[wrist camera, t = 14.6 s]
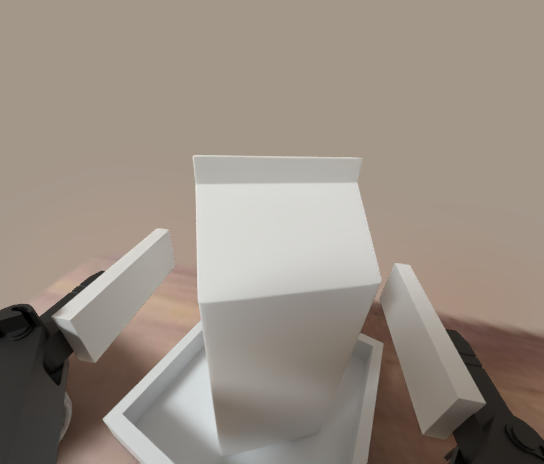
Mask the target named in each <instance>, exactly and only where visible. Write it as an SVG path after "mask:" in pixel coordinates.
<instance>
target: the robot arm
mask: <svg viewBox="0 0 544 464" xmlns="http://www.w3.org/2000/svg"><path fill="white" fill-rule="evenodd" d="M175 266H176V263H175V258H174V253H173V248H172V243H171V237H170V233H169V230H167V229H159V228H157V229H156V230H155V231H153V232H152V233H151V234H150V235H149V236H147V237H146V238H145V239H144V240H143V241H141V242H140V243H139V244H138V245H137V246H135V247H134V248H133V249H132V250H131V251H129V252H128V253H127V254H126V255H125V256H123V257H122V258H121V259H120V260H119V261H117V262H116V263H115V264H114V265H113V266H111V267H110V268H109V269H108V270H107V271H100V272H98V273H96V274H94V275H92V276H90V277H89V278H87V279H86V280H85V281H84V282H82V283H81V284H80V286H77V287H76V288H75V289H74V290H72V292H71V293H69V294H67V295H66V296H65V297H64V298H62V299H61V300H60V301H59V302H57V303H56V304H55V305H54V306H52V307H51V308H50V309H49V310H47V311H46V312H45V313H44V314H42V315H41V316H40V317H39V316H38V315H37V313H36V312H35V310H34V309H33V307H32V306H30V305H29V304H18V305H12V306H10V307H7V308H4V309H2V310H0V464H56V461H57V453H58V445H59V438H60V430H61V422H62V415H63V407H64V399H65V392H66V384H67V376H68V369H69V361H68V359H67V358H68V357H69V356H70V355H71V354H72V353H73V352H74V353H75V355H76V356H77V358H78V359H79V360H82V361H86V362H91V363H96V362H97V360H98V359H99V358H100V357H101V356H102V354H103V353H104V352H105V351H106V350H107V348H108V347H109V346H110V345H111V343H112V342H113V341H114V340H115V339H116V337H117V336H118V335H119V334H120V333H121V331H122V330H123V329H124V328H125V326H126V325H127V324H128V323H129V322H130V320H131V319H132V318H133V317H134V316H135V314H136V313H137V312H138V311H139V310H140V308H141V307H142V306H143V305H144V303H145V302H146V301H147V300H148V299H149V297H150V296H151V295H152V294H153V293H154V291H155V290H156V289H157V288H158V287H159V285H160V284H161V283H162V282H163V280H164V279H165V278H166V277H167V276H168V274H169V273H170V272H171V271H172V270H173V268H174V267H175ZM380 302H381V305H382V308H383V311H384V314H385V318H386V321H387V324H388V327H389V330H390V334H391V337H392V340H393V343H394V346H395V350H396V353H397V356H398V359H399V362H400V365H401V369H402V372H403V375H404V378H405V381H406V385H407V388H408V391H409V394H410V397H411V400H412V404H413V407H414V410H415V413H416V416H417V420H418V423H419V426H420V429H421V432H422V435H425V436H429V437H434V438H438V439H443V440H445V439H446V438H448V437H449V436H450V435H451V434H452V433H453V435H454V437H455V440H456V442H457V444H458V445H457V446H456V447H455V448H453V449H452V450H451V451H450V452H448V453H447V454H446V456H445V457H444V458H445V459H446V460H447V461H448V460H449V459H450V458H451V459H450V462H449V464H544V440H543V439H542V438H541V437H540V436H539V435H538V433H537V432H536V431H535V430H534V429H532V428H531V427H530V426H529V425H528V424H526V423H525V422H524V421H522V420H520V419H519V418H517V417H515V416H513V414H512V413H511V412H510V410H509V409H508V407H507V405H506V404H505V402H504V400H503V399H502V397H501V396H500V394H499V392H498V391H497V389H496V387H495V386H494V384H493V383H492V381H491V379H490V378H489V376H488V374H487V373H486V371H485V370H484V369H483V368H482V365H481V363H480V361H479V360H478V358H476V355H475V353H474V352H473V350H472V348H471V347H470V345H469V344H468V342H467V341H466V340H465V339H464V338H463V337H462V336H461V335H460V334H459V333H458V332H457V331H454V330H449V329H445V328H444V326H443V324H442V323H441V321H440V319H439V317H438V315H437V314H436V312H435V310H434V308H433V307H432V305H431V303H430V301H429V299H428V298H427V296H426V294H425V292H424V290H423V288H422V287H421V285H420V283H419V281H418V279H417V278H416V276H415V274H414V272H413V271H412V268H411V267H410V265H406V264H399V263H395V264H394V266H393V269H392V271H391V273H390V275H389V278H388V280H387V282H386V285H385V287H384V290H383V292H382V294H381V297H380Z"/></svg>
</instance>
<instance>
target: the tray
mask: <svg viewBox="0 0 544 464" xmlns="http://www.w3.org/2000/svg"><path fill="white" fill-rule="evenodd" d="M383 345H384V343H382V342H380V341H377V340H375V339H373V338H371V337H369V336H366V335H364V334H362V333H360V334H359V337H358V339H357V342H356V344H355V346H354V349H353V351H352V354H351V356H350V359H349V361H348V363H347V366H346V368H345V371H344V373H343V376H342V378H341V380H340V383H339V385H338V388H337V390H336V393H335V395H334V397H333V400H332V402H331V405H330V407H329V410H328V412H327V414H326V417H325V419H324V422H323V424H322V427H321V429H320V431H319V432H318V433H317V434H314V435H310V436H306V437H302V438H298V439H294V440H290V441H286V442H282V443H278V444H274V445H270V446H266V447H262V448H258V449H254V450H250V451H246V452H242V453H239V454H234V455H230V456H226V457H222V456H221V455H220V449H219V442H218V435H217V428H216V421H215V414H214V407H213V400H212V393H211V386H210V379H209V372H208V365H207V358H206V351H205V344H204V337H203V330H202V323H201V321H200V322H199V323H198V324H197V325H196V326H195V327H194V328H193V329H192V330H191V331H190V332H189V333H188V334H187V335H186V336H185V337H184V338H183V339H182V340H181V341H180V342H179V343H178V344H177V345H176V346H175V347H174V348H173V349H172V350H171V351H170V352H169V353H168V354H167V355H166V356H165V357H164V358H163V359H162V360H161V361H160V362H159V363H158V364H157V365H156V366H155V367H154V368H153V369H152V370H151V371H150V372H149V373H148V374H147V375H146V376H145V377H144V378H143V379H142V380H141V381H140V382H139V383H138V384H137V385H136V386H135V387H134V388H133V389H132V390H131V391H130V392H129V393H128V394H127V395H126V396H125V397H124V398H123V399H122V400H121V401H120V402H119V403H118V404H117V405H116V406H115V407H114V408H113V409H112V410H111V411H110V412H109V413H108V414H107V415H106V416H105V417H104V418H103V421H104V422H105V424H106V425H107V426H108V428H109V429H110V431H111V432H112V433H113V435H114V436H115V438H116V439H117V440H118V441H119V442H120V443H121V444H122V445H123V446H124V447H125V448H126V449H127V450H128V451H129V452H130V453H131V454H132V455H133V456H134V457H135V458H136V459H137V460H138V461H139V462H140V463H141V464H367V461H368V454H369V447H370V439H371V432H372V425H373V417H374V410H375V403H376V396H377V388H378V381H379V374H380V366H381V359H382V352H383Z"/></svg>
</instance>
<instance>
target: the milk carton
mask: <svg viewBox="0 0 544 464" xmlns="http://www.w3.org/2000/svg"><path fill="white" fill-rule="evenodd" d="M362 162H363V159H362V158H350V157H348V158H347V157H285V156H283V157H281V156H278V157H277V156H219V155H217V156H215V155H195V156H193V165H194V173H195V183H196V230H197V281H198V303H199V309H200V316H201V323H202V330H203V337H204V344H205V351H206V358H207V365H208V372H209V379H210V386H211V393H212V400H213V407H214V414H215V421H216V428H217V435H218V442H219V449H220V455H221V456H222V457H226V456H230V455H234V454H239V453H242V452H246V451H250V450H254V449H258V448H262V447H266V446H270V445H274V444H278V443H282V442H286V441H290V440H294V439H298V438H302V437H306V436H310V435H314V434H317V433H318V432H319V431H320V429H321V427H322V424H323V422H324V419H325V417H326V414H327V412H328V410H329V407H330V405H331V402H332V400H333V397H334V395H335V393H336V390H337V388H338V385H339V383H340V380H341V378H342V376H343V373H344V371H345V368H346V366H347V363H348V361H349V359H350V356H351V354H352V351H353V349H354V346H355V344H356V342H357V339H358V337H359V334H360V332H361V329H362V327H363V325H364V322H365V320H366V317H367V315H368V312H369V310H370V308H371V305H372V303H373V300H374V298H375V295H376V293H377V290H378V288H379V286H380V283H381V282H382V280H381V275H380V271H379V267H378V263H377V259H376V255H375V251H374V247H373V243H372V239H371V235H370V231H369V228H368V223H367V219H366V215H365V211H364V207H363V204H362V199H361V195H360V192H359V188H358V183H357V181H358V178H359V173H360V170H361V166H362Z"/></svg>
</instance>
